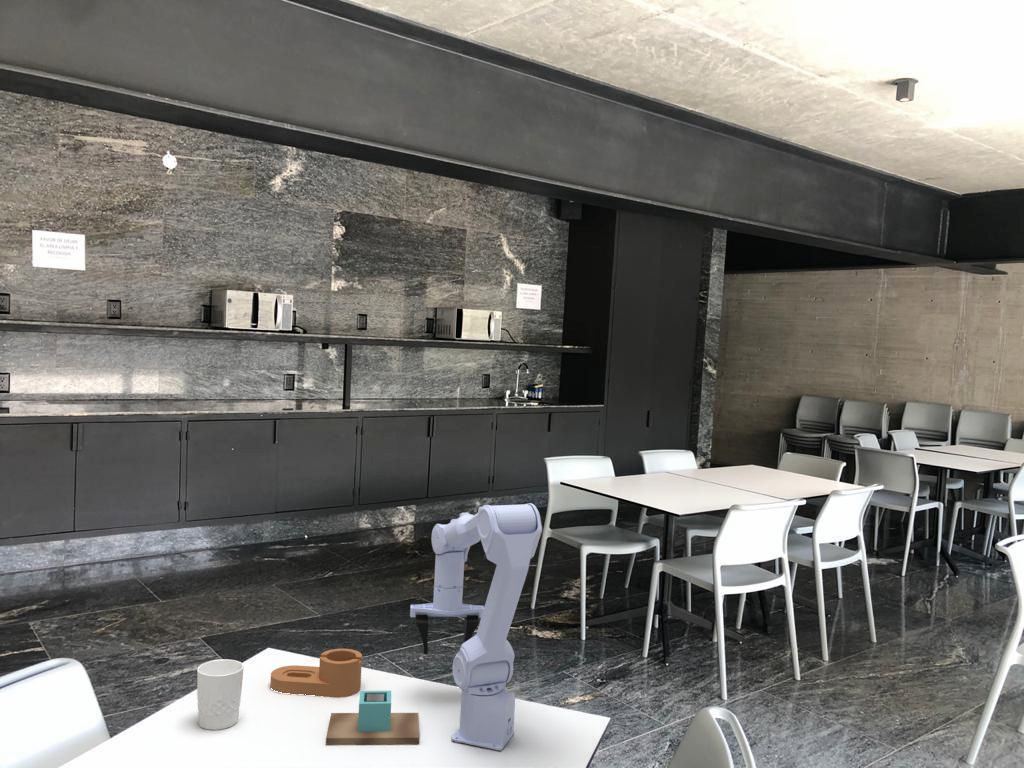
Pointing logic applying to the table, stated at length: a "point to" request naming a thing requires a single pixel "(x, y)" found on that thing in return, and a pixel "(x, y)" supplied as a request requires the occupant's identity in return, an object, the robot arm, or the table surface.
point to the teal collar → (374, 713)
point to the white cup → (219, 693)
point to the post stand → (346, 732)
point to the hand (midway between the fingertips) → (445, 652)
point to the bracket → (322, 675)
